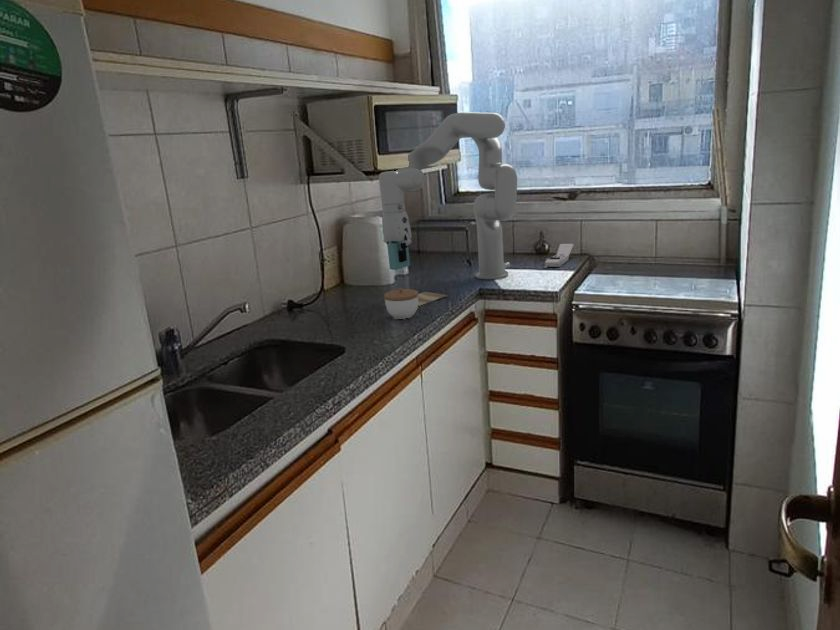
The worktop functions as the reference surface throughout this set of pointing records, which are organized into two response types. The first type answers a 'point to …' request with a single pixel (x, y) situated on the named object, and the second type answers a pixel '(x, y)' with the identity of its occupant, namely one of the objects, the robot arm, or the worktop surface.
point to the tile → (396, 256)
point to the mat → (428, 297)
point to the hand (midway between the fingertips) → (399, 260)
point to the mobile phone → (559, 256)
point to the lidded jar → (401, 303)
